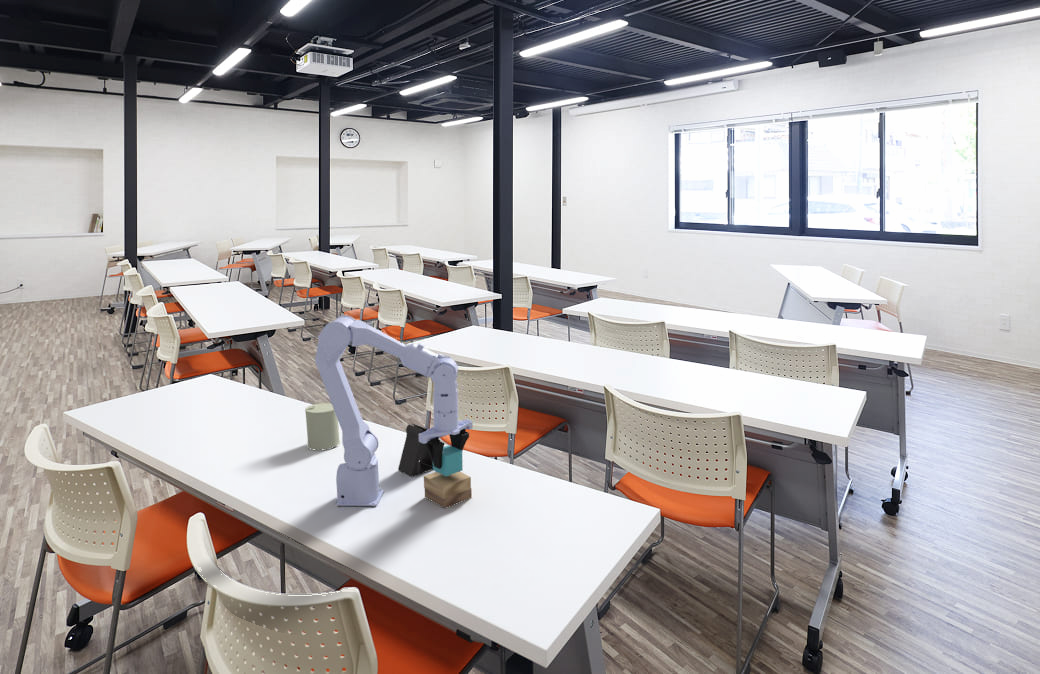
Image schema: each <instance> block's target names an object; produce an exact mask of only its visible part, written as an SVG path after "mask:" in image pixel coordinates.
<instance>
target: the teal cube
mask: <svg viewBox="0 0 1040 674" xmlns="http://www.w3.org/2000/svg"><path fill="white" fill-rule="evenodd" d="M463 466H464V465H463V451H462V450H460V449H457V448H455V447H453V446H451V445H450V444H448V445H446V446H445V445H444V447H443V452H442V468H440V469H438V468H436V467H434V464H433V470H432V471H433V472H438V473H440V474H442V475H444V476H449V475H451V474H454V473H457V472H463Z"/></svg>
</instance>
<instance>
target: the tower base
mask: <svg viewBox="0 0 1040 674" xmlns="http://www.w3.org/2000/svg"><path fill="white" fill-rule="evenodd" d="M425 497H426V498H425ZM472 497H473V496H472V488H471V489H469V490H466V491H463V492H461V493H458V494H455V495H452V496H450V497H447V498H444V499H443V498H441V497H439V496H438V495H436V494H434V493H432V492H431V491H429V490H427V489H426V488H424V498H425V499H427V498H428V499H427V500H429V499H430V500H432V501H433V503H434V502H435V503H434V504H436V503H437V504H436V505H438V504H439V505H440V507H441V506H442V507H441V508H443V507H444V509H447V508H446V507H448V508H449V506H450V507H453V506H455V505H457V504H456V503H458V504H460V503H462V502H461V501H463V502H465V501H468V500H470V499H472ZM469 498H470V499H469ZM467 499H468V500H467ZM430 500H429V501H430ZM464 500H465V501H464ZM432 501H431V502H432ZM459 502H460V503H459ZM454 504H455V505H454ZM439 505H438V506H439ZM452 505H453V506H452Z"/></svg>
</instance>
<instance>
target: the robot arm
mask: <svg viewBox="0 0 1040 674" xmlns="http://www.w3.org/2000/svg"><path fill="white" fill-rule="evenodd" d="M317 341H318V342H317V347H316V351H315V352H316V353H315V358H314V362H315V365H316V368H317V370H318V372H319V375H320V379H321V380H322V383H323V385H324V386H323V387H324V388H325V391H326V393H327V395H328V398H329V400H330V403H331V404H332V406H333V409H334V411H335V414H336V416H337V419H338V425H339V426H340V429H341V431H342V433H341V434H342V435H341V436H342V437H341V440H342V442H341V443H342V446H343V450H344V452H343V459H344V463H340V464H338V467H337V470H336V476H335V477H336V479H335V480H336V496H337V503H336V506H337V507H338V506H339V507H348V506H349V507H351V506H352V507H376V506H378V504H379V503H380V500H381V499H382V497H383V495H384V492H385V489H380V480H379V459H378V458H377V456H376V455H375V453H376V451H377V450H378V448H379V439H378V437H377V436H376V434H374V433H373V432H372V431H371V429H370V427H369V425H368V424H367V423H366V422H365V421H364V419H363V417H362V415H361V412H360V409H359V407H358V404H357V402H356V399H355V397H354V393H353V391H352V388H351V386H350V383H349V380H348V378H347V375H346V373H345V370H344V368H343V365H342V362H341V358H342V356H343V355H344V353H345V351H346V349H347V348H348V346H349V345H350V344H351V343H352V344H351V347H358V346H359V347H360V346H363V345H364V346H365V345H368V346H370V347H373V348H376V349H378V350H380V351H382V352H385V353H387V354H390V355H392V356H394V357H397V358H398V359H400V361H401V364H402V366H403V367H405V368H408V369H409V370H412V371H413V372H416V373H417V374H420V375H422V376H424V377H427V378H431V379H430V380H431V381H432V383H433V390H432V391H433V392H432V399H433V403H432V404H433V426H432V427H430V428H429V429H428V428H427V430H426V431H425V432H423V433H420V434H419V442H421V443H423V444H425V445H426V446H427V448H428V450H429V452H430V454H431V457H432V460H433V464H434V467H436V468H438V469H440V468H442V452H443V447H445V443H444V442H443V441H441V439H440V438H442V437H446V436H449V439H450V444H451V445H450V446H453V447H455V448H457V449H460V450H462V452H463V451H464V448H465V445H466V442H467V441H468V440H469V438H470V432H468V431H466V430H472V429H473V420H470V419H468V418H467V419H462V420H459V394H458V393H459V390H458V382H457V379H458V372H459V368H458V367H459V366H458V364H457V362H456V361H455V360H454V359H453V358H451V357H450V356H448V355H443V353H440V352H439V353H435V352H433V351H431V350H430V349H427V348H425V345H424V344H423V343H421V342H419V343H418V344H417V343H414V342H413V343H410V344H405V343H403V342H401V341H400V340H397V339H396V338H393V337H391V336H390V335H389V334H386V333H385V332H382V331H381V330H379V329H377V328H376V327H373V326H372V325H370V324H368V323H367V322H365V321H363V320H360V319H355V318H353V317H352V316H350V315H346V314H345V315H339V316H337V317H336V318H335V319H334V320H332V321H331V322H329V323H327V324H325V326H323V328H322V330H321V332H320V333H319V334H318V336H317Z"/></svg>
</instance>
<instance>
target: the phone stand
mask: <svg viewBox="0 0 1040 674" xmlns="http://www.w3.org/2000/svg"><path fill="white" fill-rule="evenodd" d="M426 430H428V428H425V427H422V426H420V425H419V424H414V423H411V424H410V423H409V424H408V425H407V426H406V429H405V432H406V436H405V441H404V445H403V448H402V452H401V457H400V460H399V464H398V468H397V470H398V471H399V472H401V471H402V472H401V473H403V472H404V473H403V474H405V473H406V475H407V474H408V476H410V477H412V476H413V477H416V476H419V475H422V474H424V473H426V472H425V471H427V472H429V471H428V470H430V471H432V470H431V469H433V460H432V457H431V454H430V452H429V450H428V448H427V446H426V445H425V444H423V443H421V442H419V434H420V433H423V432H425V431H426ZM423 472H424V473H423ZM421 473H422V474H421ZM418 474H419V475H418ZM415 475H416V476H415Z"/></svg>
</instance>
